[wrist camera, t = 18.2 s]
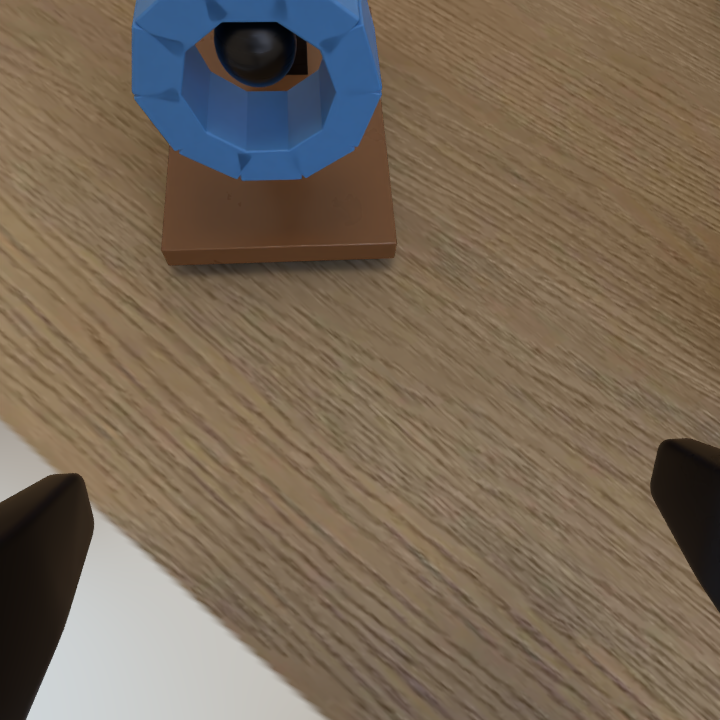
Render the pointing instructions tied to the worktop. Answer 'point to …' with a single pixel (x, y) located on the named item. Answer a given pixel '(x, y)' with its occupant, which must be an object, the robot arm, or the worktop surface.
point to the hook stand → (277, 197)
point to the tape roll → (257, 108)
